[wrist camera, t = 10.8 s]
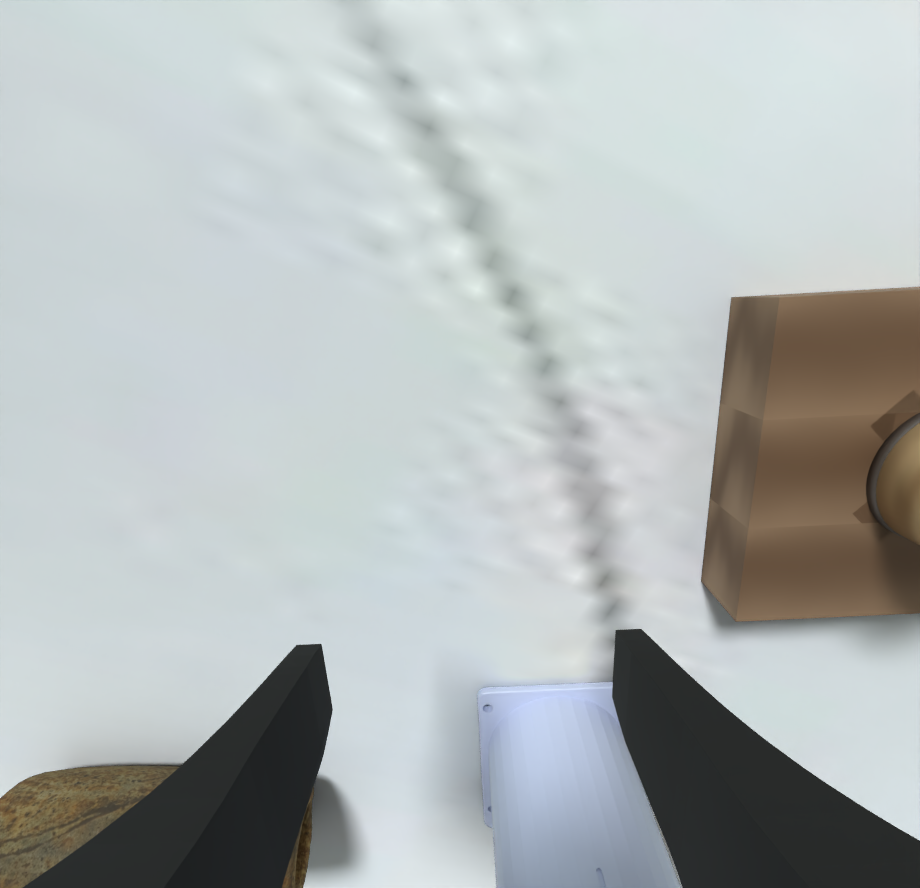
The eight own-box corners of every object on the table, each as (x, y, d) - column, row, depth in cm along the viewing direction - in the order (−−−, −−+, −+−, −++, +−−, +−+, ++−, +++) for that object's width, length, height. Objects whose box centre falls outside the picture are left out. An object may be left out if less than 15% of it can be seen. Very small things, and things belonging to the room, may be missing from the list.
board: (998, 567, 23) (1076, 606, 20) (701, 580, 23) (735, 621, 20) (1088, 277, 19) (1202, 273, 16) (731, 297, 19) (779, 297, 16)
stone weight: (75, 829, 28) (-40, 988, 21) (41, 736, 26) (-97, 881, 19) (331, 825, 28) (293, 983, 21) (317, 731, 26) (271, 875, 19)
